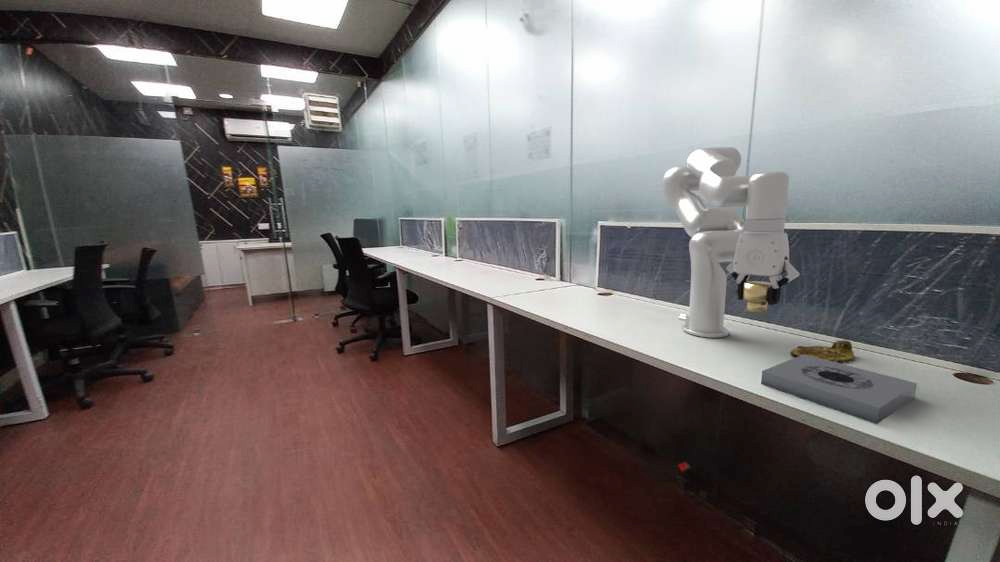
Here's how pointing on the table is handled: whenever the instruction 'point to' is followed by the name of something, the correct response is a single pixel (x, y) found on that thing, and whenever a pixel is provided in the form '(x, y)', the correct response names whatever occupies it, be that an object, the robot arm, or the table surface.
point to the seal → (828, 352)
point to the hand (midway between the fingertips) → (757, 300)
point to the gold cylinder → (756, 295)
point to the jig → (841, 387)
